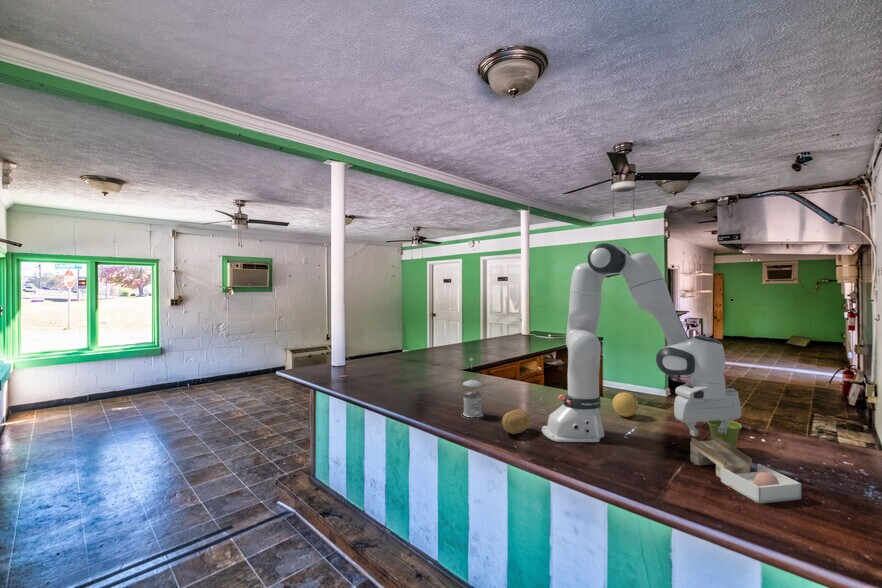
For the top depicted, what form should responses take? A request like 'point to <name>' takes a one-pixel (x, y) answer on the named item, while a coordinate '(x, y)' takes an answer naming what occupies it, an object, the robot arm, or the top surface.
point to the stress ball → (625, 404)
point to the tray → (762, 494)
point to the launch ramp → (719, 456)
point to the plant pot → (731, 431)
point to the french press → (472, 399)
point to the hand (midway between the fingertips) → (708, 434)
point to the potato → (516, 421)
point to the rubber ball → (765, 479)
